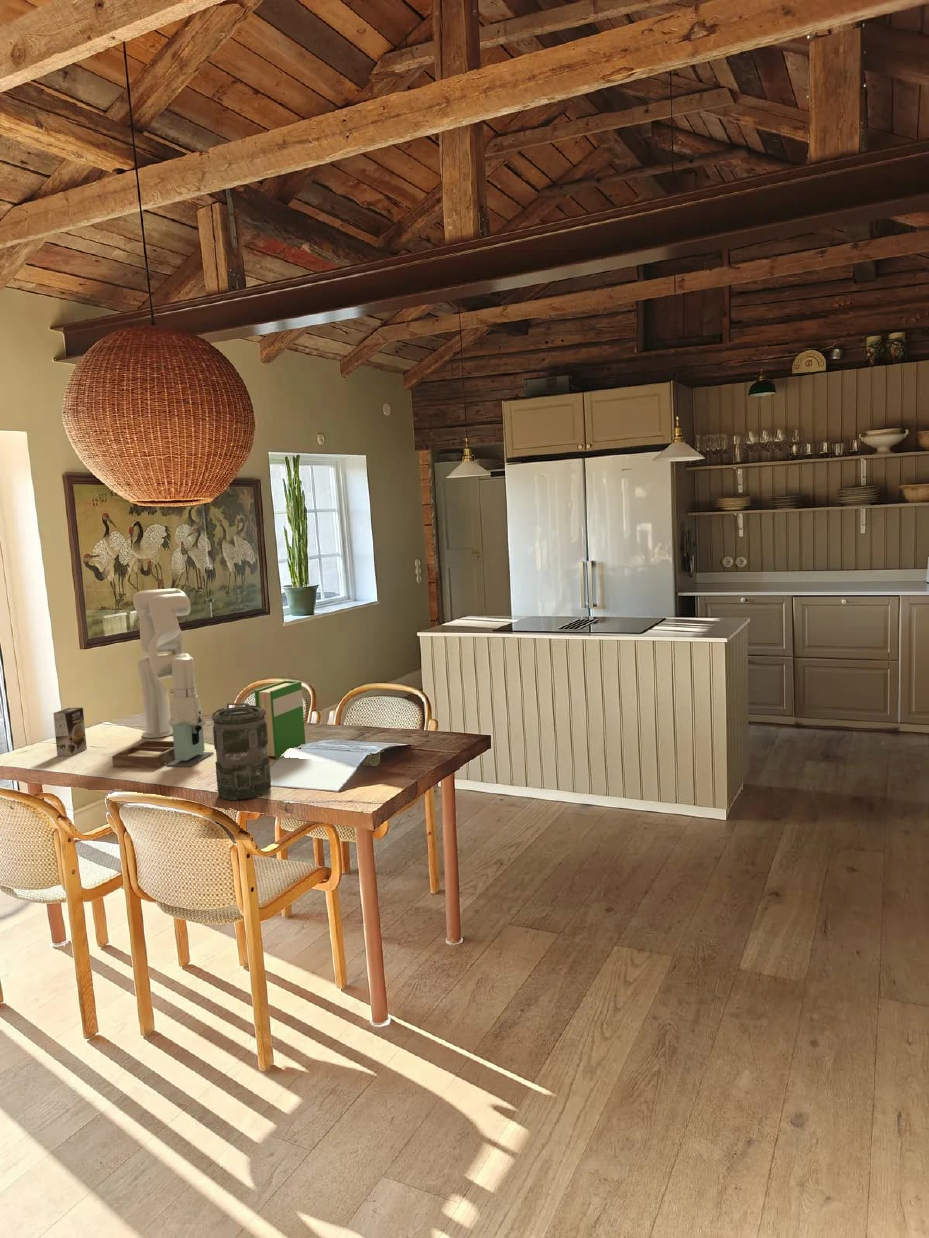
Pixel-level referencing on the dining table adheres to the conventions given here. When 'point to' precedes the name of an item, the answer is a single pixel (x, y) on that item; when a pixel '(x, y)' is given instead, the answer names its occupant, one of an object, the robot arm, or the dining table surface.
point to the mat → (189, 762)
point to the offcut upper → (145, 753)
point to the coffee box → (70, 731)
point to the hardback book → (282, 715)
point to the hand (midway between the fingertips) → (189, 743)
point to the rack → (145, 761)
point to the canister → (241, 751)
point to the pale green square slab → (186, 742)
